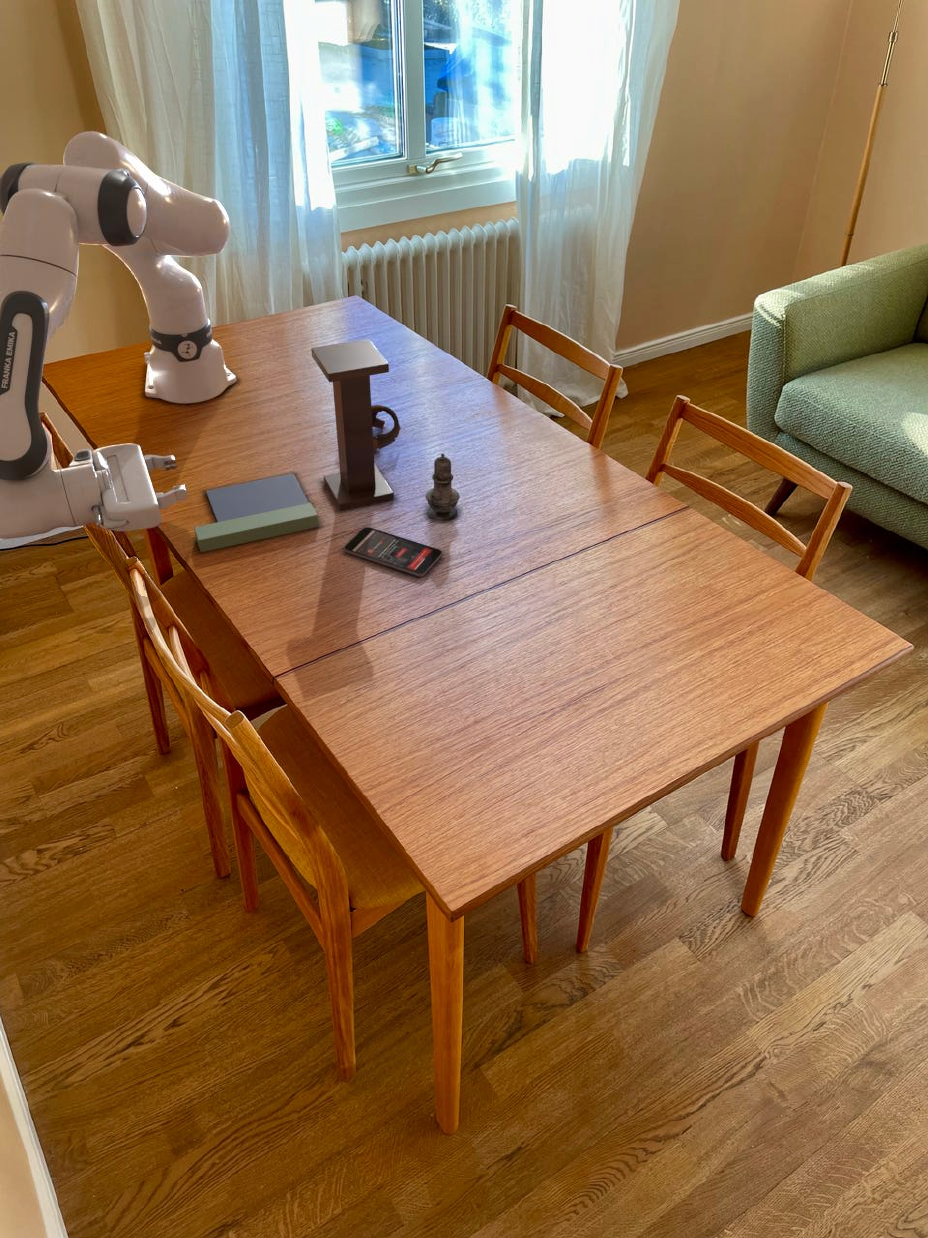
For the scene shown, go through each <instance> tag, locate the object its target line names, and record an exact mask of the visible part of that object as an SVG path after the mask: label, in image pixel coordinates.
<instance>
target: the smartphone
mask: <svg viewBox="0 0 928 1238" xmlns="http://www.w3.org/2000/svg"><path fill="white" fill-rule="evenodd" d="M343 550H344V552H345V553H347V554H350V555H353V556H355V557H359V558H362V559H365V560H368V561H371V562H374V563H377V564H379V565H384V566H386V567H389V568H392V569H395V570H398V571H400V572H401V571H402V572H405V573H407V574H410V575H413V576H416V577H419V578H420V577H424V576H425V575H426V574H427V573H428V572H429V571H430V570H431V569H432V568H433V566H434V565H435V564H436V563H437V562H438V561H439V559H441V557H442V556H443V551H442V550H441V549H439V548H436V547H432V546H430V545H426V544H423V543H420V542H417V541H414V540H411V539H408V538H404V537H402V536H398V535H395V534H392V533H389V532H386V531H383V530H379V529H377V528H373V527H370V526H365V527H363V528H362V529H361V530H359V532H358V533H357V534H356V535H354V537H353V538H352V539H351V540H350V541H349V542H348V543H347V544H345V546H344V548H343Z"/></svg>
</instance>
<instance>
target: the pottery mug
mask: <svg viewBox="0 0 928 1238" xmlns="http://www.w3.org/2000/svg"><path fill="white" fill-rule="evenodd" d="M371 408H372V427H373V428H377V429H380V430H383V429H384V427H385V424H386V421H385V420H383V419H381V418H379V417H377V416H378V415H379V413H382V412H384V413H386V414H388V415H389V416H390V417H391V418H392V420H393V428H392V429H391V430H389V431H387V432H386V433H376V436H373V446H374V453H376V452H377V450H382V449H383V448H386V447H388V446H389V445H391V444H393V443H394V442H395V441H396V439H397V438H398V437H399V434H400V431H401V429H402V428H401V425H400V422H399V418H398V415H397V413H395V411H394V410H393V409H391V408H390V407H388V406H385V405H381V404H374V405H371Z"/></svg>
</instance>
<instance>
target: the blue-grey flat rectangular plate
mask: <svg viewBox="0 0 928 1238" xmlns="http://www.w3.org/2000/svg"><path fill="white" fill-rule="evenodd" d="M205 494H206V496H207V499H208V502H209V504H210V507H211V509H212V512H213V515H214V517H215V520H216V523H217V522H222V521H226V520H231V519H236V518H241V517H245V516H250V515H255V514H260V513H265V512H269V511H274V510H279V509H284V508H288V507H293V506H298V505H303V504H308V503H309V501H308V499H307V496H306V495H305V492H303V489H302V487H301V485H300V484H299V481H298V480H297V478H296V476H295V474H294V472H293V473H286V474H282V475H276V476H271V477H267V478H262V479H258V480H257V479H256V480H252V481H251V480H250V481H246V482H242V483H237V484H231V485H226V486H223V487H218V488H212V489H207V490H205Z"/></svg>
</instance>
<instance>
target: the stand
mask: <svg viewBox="0 0 928 1238" xmlns="http://www.w3.org/2000/svg"><path fill="white" fill-rule="evenodd" d="M310 350H311V357H312V359H313V360H314V361H315V363H316V365H317V367H318V368H319V369H320V371H321V372H322V373H323V375H324V377H325V378H326V380H327V381H328V383H332V389H333V403H334V412H335V413H334V415H335V428H336V438H337V453H338V464H339V472H335V473H334V472H333V473H330V474H325V475H323V477H322V478H323V483H324V485H325V487H326V488H327V491H328V492H329V494H330V496H331V497H332V499H333V501H334V503H335V505H336V506H337V508H338V510H339V512H343V511H348V510H354V509H357V508H361V507H366V506H371V505H376V504H381V503H385V502H390V501H394V500H395V493H394V491H393V490H392V488H391V487H390V485H389V483H388V482H387V480H386V479H385V477H384V475H383V474H382V472H381V471H380V469H379V468H378V466H377V465H376V464H375V452H374V446H373V437H374V431H373V430H374V429H373V428H374V427H372V408H371V406H372V391H371V376H375V375H380V374H386V373H390V364H389V362H388V361H387V359H385V357H384V356H383V354H382V353H381V352H380V351H379V350H378V348H377V347H376V346H375V345H374V343H373V341H371V340H370V338H365V339H359V340H353V341H346V342H339V343H335V344H328V345H321V346H315V347H311V349H310Z"/></svg>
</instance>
